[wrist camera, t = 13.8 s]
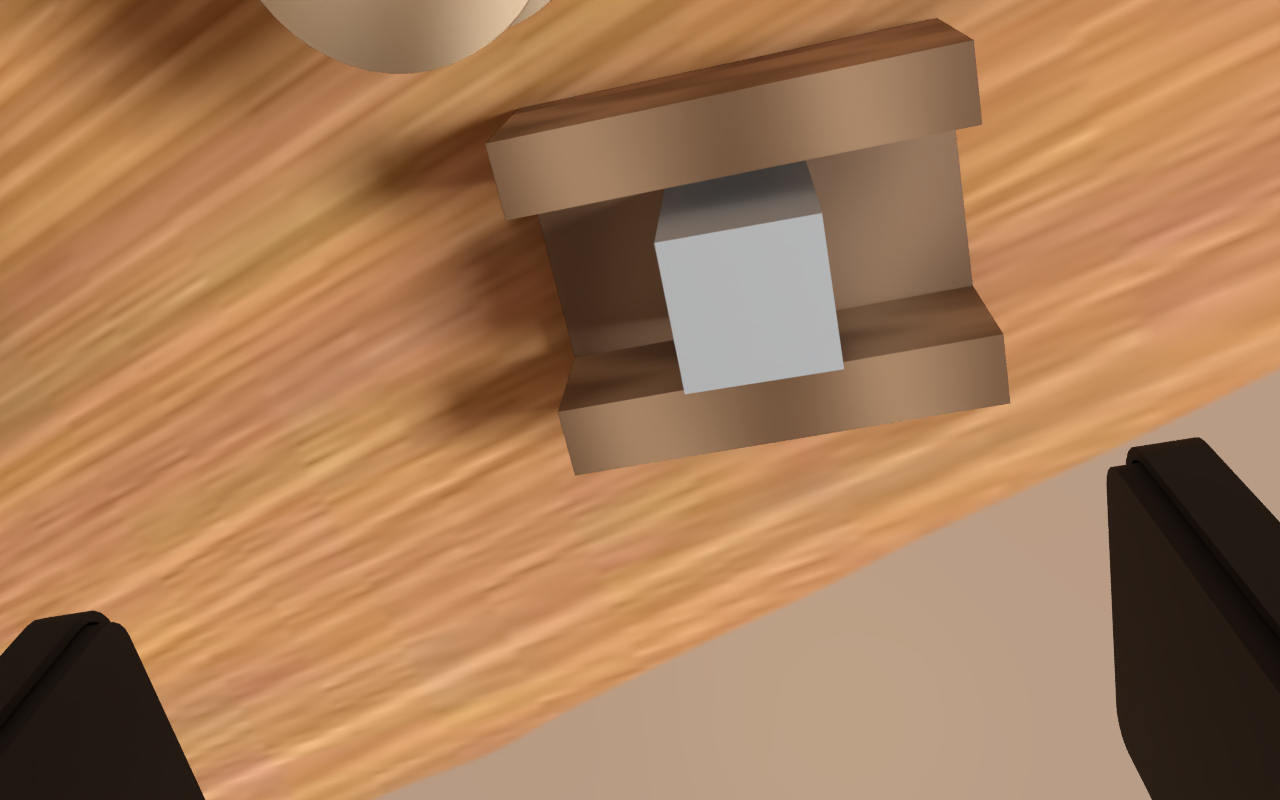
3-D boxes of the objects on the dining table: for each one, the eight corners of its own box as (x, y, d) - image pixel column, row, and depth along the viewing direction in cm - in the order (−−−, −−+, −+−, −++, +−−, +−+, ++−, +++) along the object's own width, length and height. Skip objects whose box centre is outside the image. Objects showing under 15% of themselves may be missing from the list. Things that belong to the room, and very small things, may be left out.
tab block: (665, 184, 33) (654, 242, 27) (805, 158, 32) (822, 213, 27) (691, 313, 34) (684, 394, 29) (824, 291, 34) (844, 368, 28)
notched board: (593, 403, 37) (575, 475, 32) (517, 108, 33) (485, 143, 29) (972, 336, 35) (1010, 403, 31) (937, 18, 31) (973, 40, 27)
